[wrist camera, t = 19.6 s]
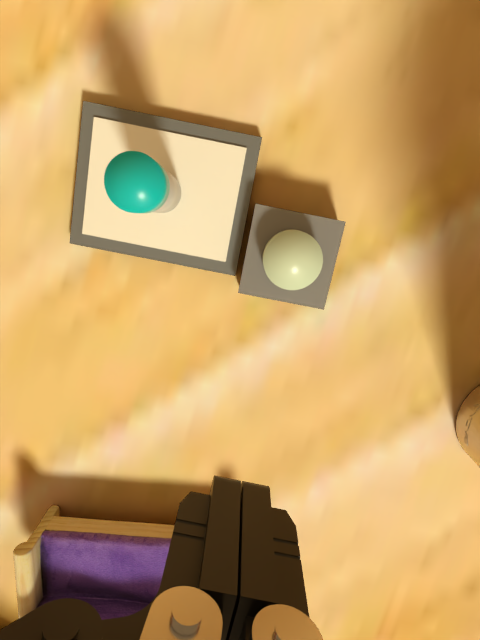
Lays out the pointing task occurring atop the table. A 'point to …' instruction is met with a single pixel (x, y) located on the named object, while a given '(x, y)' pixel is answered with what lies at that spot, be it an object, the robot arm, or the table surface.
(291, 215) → the button housing
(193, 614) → the robot arm
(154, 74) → the table surface
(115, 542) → the toy sofa
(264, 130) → the table surface
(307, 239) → the button
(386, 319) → the table surface
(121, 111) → the drawing slate
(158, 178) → the marker
